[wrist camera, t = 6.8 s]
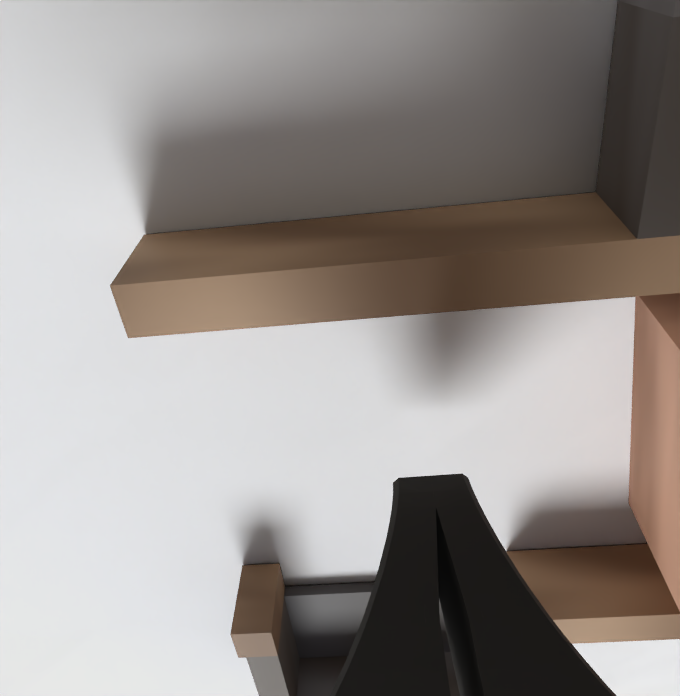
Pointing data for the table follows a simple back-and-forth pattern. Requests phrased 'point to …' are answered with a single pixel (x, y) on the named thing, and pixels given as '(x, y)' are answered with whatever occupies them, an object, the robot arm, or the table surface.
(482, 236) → the trap box
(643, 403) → the block
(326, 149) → the table surface
